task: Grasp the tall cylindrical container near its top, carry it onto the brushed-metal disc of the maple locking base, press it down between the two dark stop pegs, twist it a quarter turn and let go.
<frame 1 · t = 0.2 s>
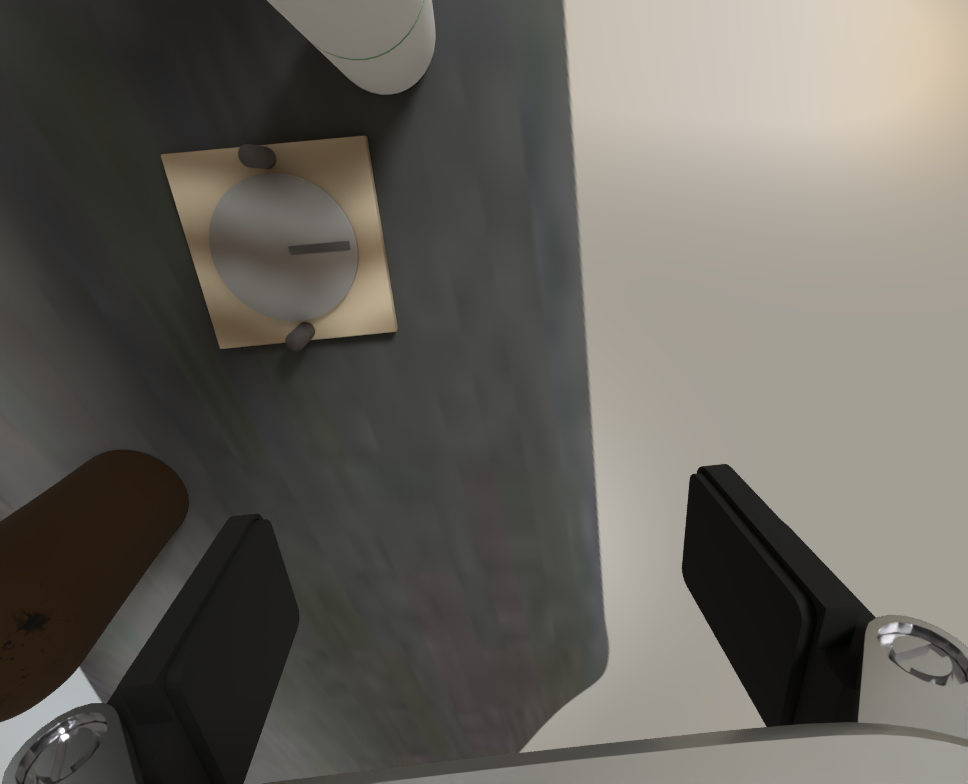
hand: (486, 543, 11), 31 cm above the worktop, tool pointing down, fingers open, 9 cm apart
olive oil: (135, 492, 46), on the worktop
cylindrical container: (381, 33, 33), on the worktop
locking base: (291, 248, 38), on the worktop
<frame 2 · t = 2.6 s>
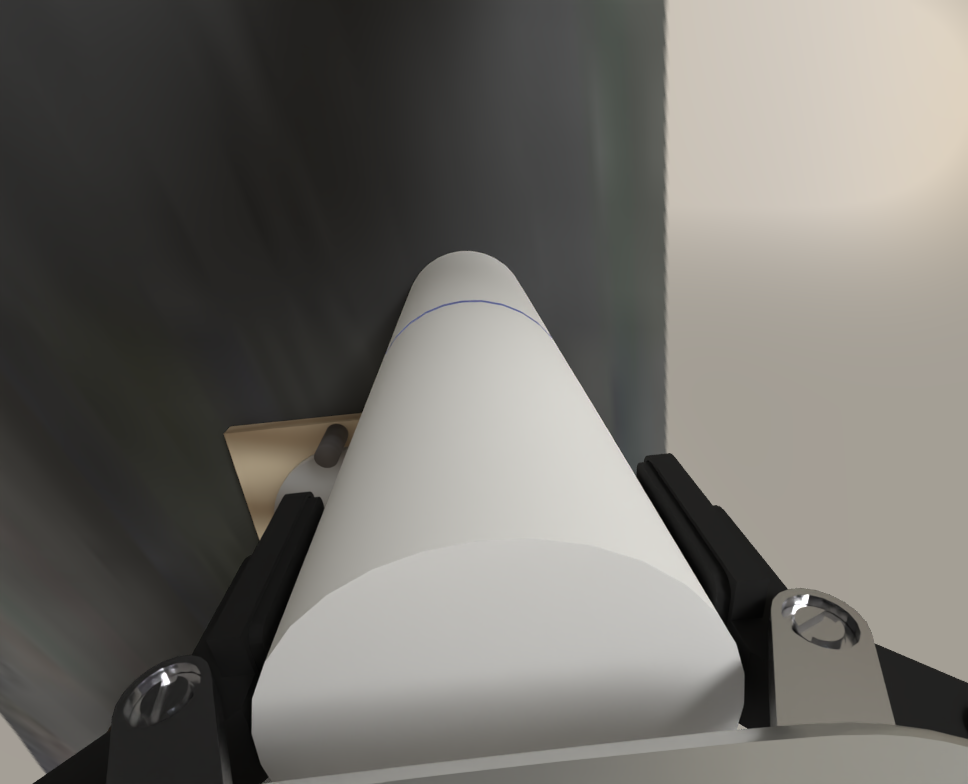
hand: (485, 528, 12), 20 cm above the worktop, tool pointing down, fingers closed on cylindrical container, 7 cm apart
cylindrical container: (466, 310, 30), on the worktop, touching gripper
locking base: (358, 504, 35), on the worktop
when the fingers open (22 cm above the worktop, at t = 8.0 s): cylindrical container stays where it is, resting on locking base.
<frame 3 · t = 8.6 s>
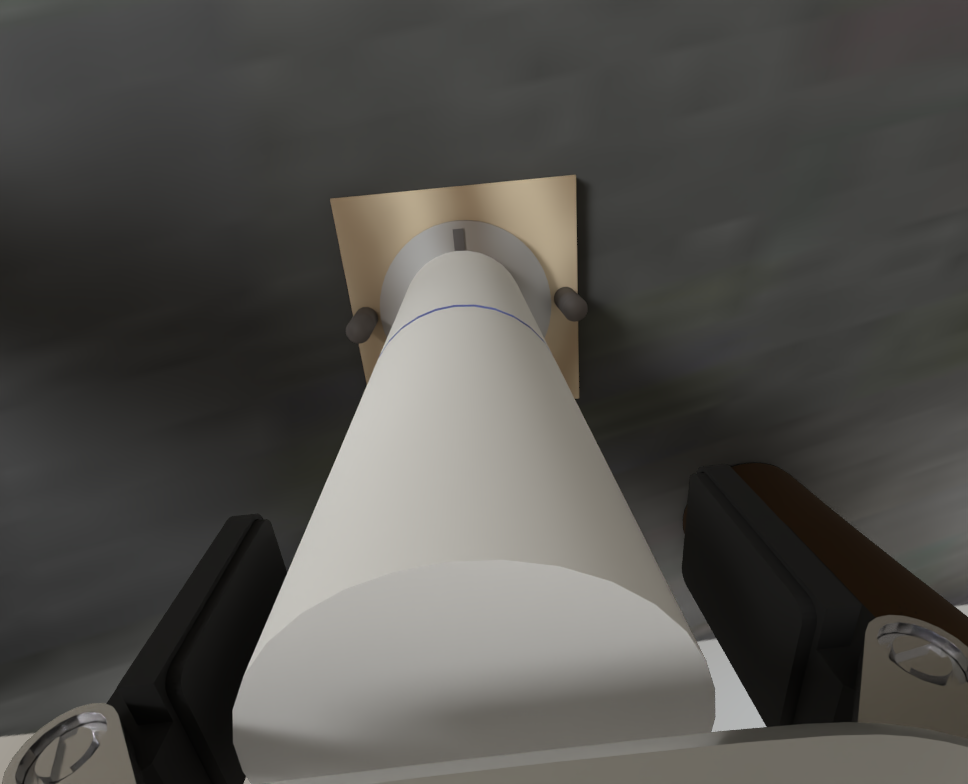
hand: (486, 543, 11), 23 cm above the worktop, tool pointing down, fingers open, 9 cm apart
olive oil: (738, 511, 40), on the worktop
cylindrical container: (463, 310, 31), point 2 cm above the worktop, touching locking base
locking base: (465, 304, 32), on the worktop
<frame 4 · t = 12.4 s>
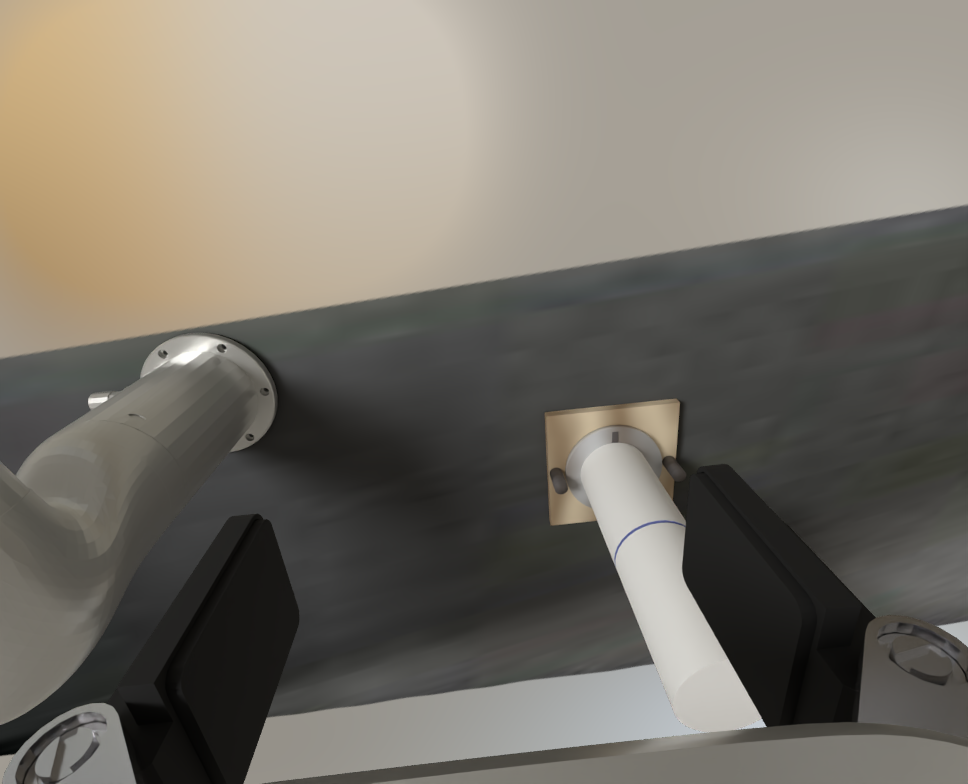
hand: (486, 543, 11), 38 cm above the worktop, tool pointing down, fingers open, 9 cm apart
cylindrical container: (612, 470, 54), point 2 cm above the worktop, touching locking base
locking base: (609, 462, 56), on the worktop
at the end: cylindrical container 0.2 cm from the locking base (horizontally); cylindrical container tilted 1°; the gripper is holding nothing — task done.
